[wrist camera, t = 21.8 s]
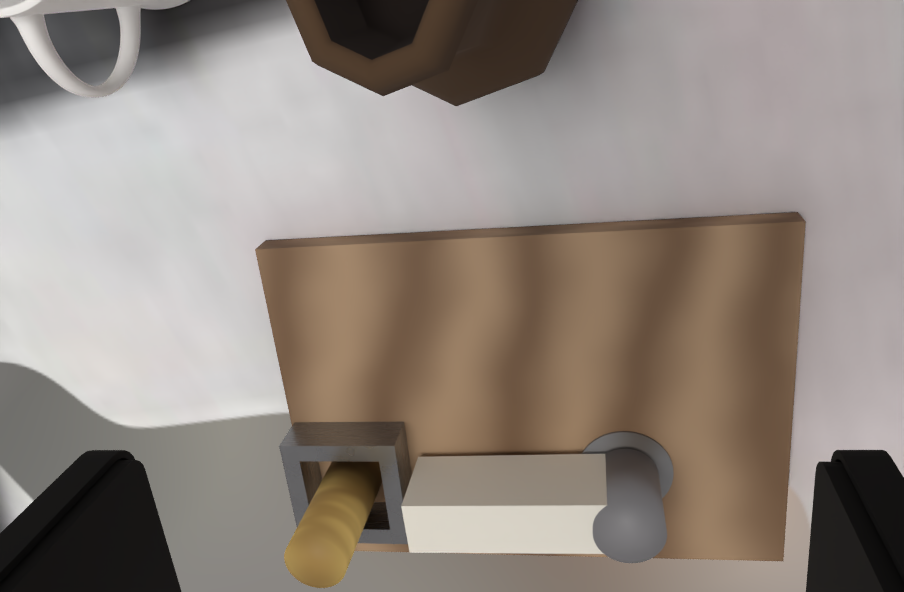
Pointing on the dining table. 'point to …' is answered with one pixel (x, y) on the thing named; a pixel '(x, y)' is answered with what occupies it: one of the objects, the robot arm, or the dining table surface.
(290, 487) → the collar
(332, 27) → the beer bottle
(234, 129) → the dining table surface
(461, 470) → the handle
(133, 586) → the robot arm
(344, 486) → the pin
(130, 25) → the mug
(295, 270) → the board
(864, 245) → the dining table surface
